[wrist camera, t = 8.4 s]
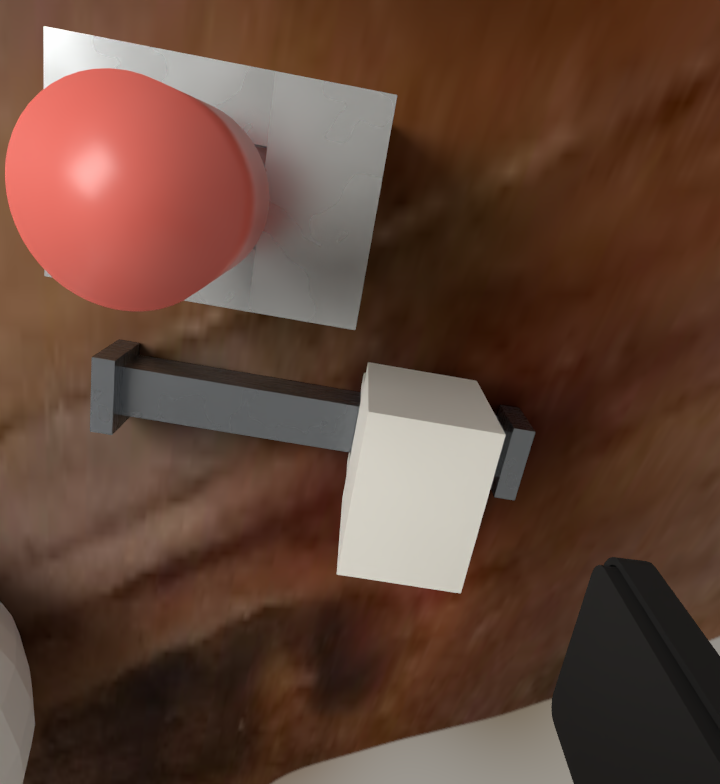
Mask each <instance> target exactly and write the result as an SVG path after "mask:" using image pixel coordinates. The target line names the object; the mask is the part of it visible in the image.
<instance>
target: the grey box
mask: <svg viewBox="0 0 720 784" xmlns="http://www.w3.org/2000/svg"><path fill="white" fill-rule="evenodd" d="M100 68H113V69H121V70H128V71H132V72H136V73H139V74H143V75H145V76H148V77H150V78H153V79H155V80H157V81H160V82H162V83H164V84H166V85H168V86H171V87H173V88H175V89H177V90H179V91H181V92H184V93H186V94H188V95H190V96H192V97H194V98H197V99H199V100H201V101H203V102H205V103H207V104H210V105H212V106H214V107H215V108H217V109H219V110H221V111H222V112H224V113H225V114H227V115H228V116H229V117H230V118H232V119H233V120H234V121H235V122H236V123H237V124H238V125H239V126H240V127H241V128H242V129H243V130H244V131H245V132H246V134H247V135H248V136H249V137H250V139H251V140H252V142H253V143H254V145H255V147H256V148H257V150H258V152H259V154H260V157H261V159H262V161H263V164H264V167H265V170H266V174H267V179H268V184H269V210H268V216H267V220H266V224H265V227H264V230H263V232H262V234H261V236H260V238H259V240H258V242H257V244H256V245H255V247H254V248H253V250H252V251H251V252H250V253H249V254H248V255H247V256H246V258H245V259H243V260H242V261H241V262H240V263H239V264H238V265H236V266H235V267H233V268H232V269H230V270H229V271H227V272H226V273H224V274H223V275H221V276H220V277H218V278H217V279H215V280H214V281H212V282H211V283H209V284H208V285H207V286H205V287H204V288H202V289H201V290H199V291H198V292H196V293H195V294H193V295H191V296H190V297H188V298H187V299H185V301H190V302H196V303H202V304H208V305H213V306H219V307H225V308H230V309H236V310H242V311H248V312H253V313H259V314H265V315H271V316H276V317H282V318H288V319H293V320H299V321H305V322H311V323H316V324H322V325H328V326H334V327H339V328H345V329H351V330H356V324H357V318H358V313H359V307H360V302H361V296H362V290H363V285H364V279H365V273H366V268H367V262H368V257H369V251H370V245H371V240H372V234H373V229H374V223H375V217H376V212H377V206H378V200H379V195H380V189H381V184H382V178H383V172H384V167H385V161H386V156H387V150H388V144H389V139H390V133H391V127H392V122H393V116H394V111H395V105H396V99H397V95H395V94H390V93H384V92H379V91H374V90H369V89H364V88H359V87H354V86H349V85H343V84H338V83H333V82H328V81H323V80H318V79H313V78H307V77H302V76H297V75H292V74H287V73H282V72H277V71H272V70H266V69H261V68H256V67H251V66H246V65H241V64H236V63H230V62H225V61H220V60H215V59H210V58H205V57H200V56H195V55H189V54H184V53H179V52H174V51H169V50H164V49H159V48H154V47H148V46H143V45H138V44H133V43H128V42H123V41H118V40H112V39H107V38H102V37H97V36H92V35H87V34H82V33H77V32H71V31H66V30H61V29H56V28H51V27H46V26H44V89H45V88H46V87H47V86H49V85H50V84H51V83H53V82H55V81H57V80H59V79H61V78H63V77H64V76H67V75H70V74H73V73H76V72H79V71H84V70H90V69H100ZM45 276H47V277H52V276H51V275H50V274H49V273H48V272H47V271H46V270H45Z"/></svg>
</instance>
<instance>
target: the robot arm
mask: <svg viewBox="0 0 720 784" xmlns="http://www.w3.org/2000/svg"><path fill="white" fill-rule="evenodd" d="M552 717H553V722H554V725H555V728H556V731H557V734H558V737H559V740H560V743H561V746H562V749H563V752H564V755H565V758H566V761H567V764H568V767H569V770H570V773H571V776H572V779H573V782H574V784H720V656H719V655H718V653H717V652H716V650H715V649H714V648H713V646H712V645H711V644H710V642H709V641H708V639H707V638H706V637H705V635H704V634H703V632H702V631H701V630H700V628H699V627H698V626H697V624H696V623H695V621H694V620H693V619H692V617H691V616H690V615H689V613H688V612H687V610H686V609H685V608H684V606H683V605H682V603H681V602H680V601H679V599H678V598H677V597H676V595H675V594H674V592H673V591H672V590H671V588H670V587H669V586H668V584H667V583H666V581H665V580H664V579H663V577H662V576H661V574H660V573H659V572H658V570H657V569H656V568H655V566H654V565H653V564H652V563H650V562H647V561H639V560H631V559H623V558H615V557H612V558H609V559H608V560H607V561H606V562H605V564H604V566H602V565H598V566H596V567H595V568H594V570H593V572H592V574H591V578H590V581H589V584H588V587H587V590H586V593H585V596H584V599H583V603H582V606H581V609H580V612H579V615H578V618H577V621H576V625H575V628H574V631H573V634H572V637H571V640H570V643H569V646H568V650H567V653H566V656H565V659H564V662H563V665H562V668H561V671H560V675H559V678H558V681H557V684H556V687H555V690H554V693H553V698H552Z"/></svg>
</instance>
